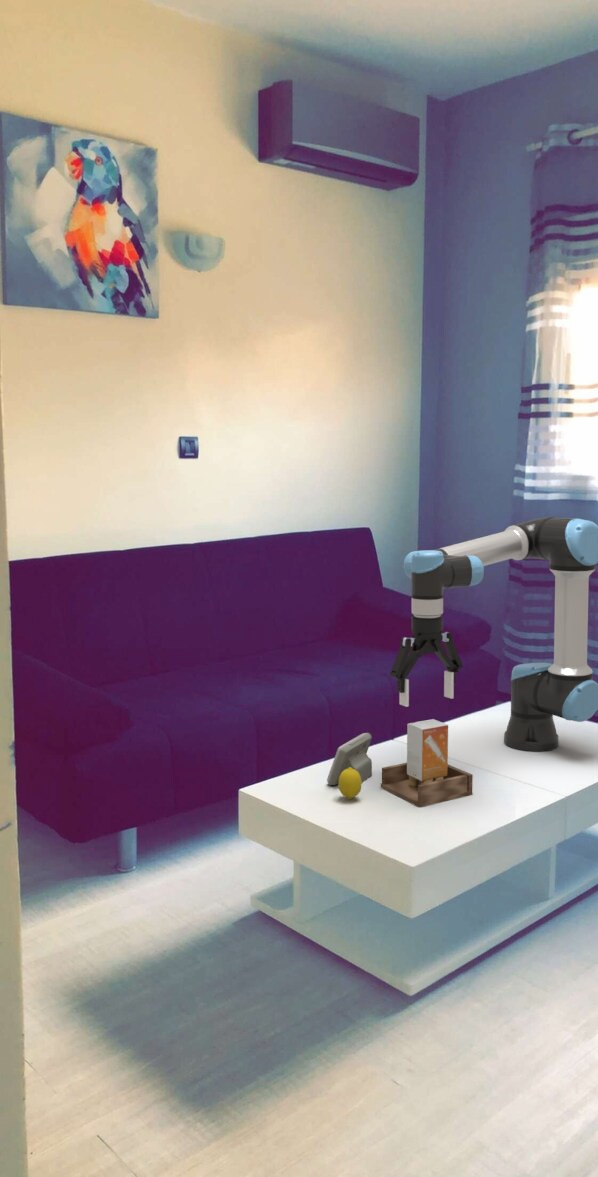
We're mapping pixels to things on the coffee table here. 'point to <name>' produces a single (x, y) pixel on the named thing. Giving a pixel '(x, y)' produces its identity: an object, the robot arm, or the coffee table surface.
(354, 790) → the lemon
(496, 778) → the coffee table surface
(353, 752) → the digital clock
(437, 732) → the small box
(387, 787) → the peg frame
